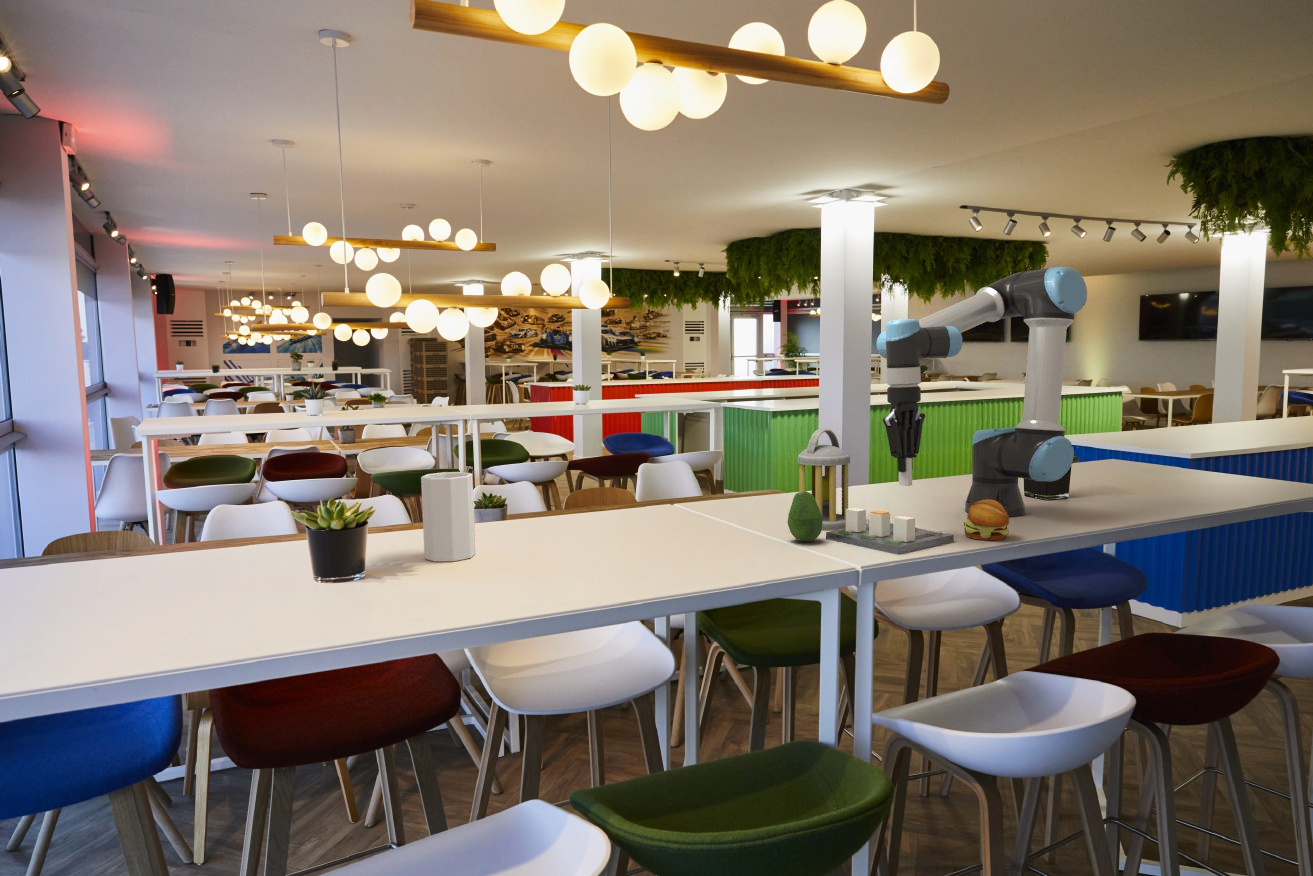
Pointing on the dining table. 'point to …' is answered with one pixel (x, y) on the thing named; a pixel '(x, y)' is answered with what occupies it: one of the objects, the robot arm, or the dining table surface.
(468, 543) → the cup
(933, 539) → the panel
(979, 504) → the cheeseburger
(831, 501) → the lantern
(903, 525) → the toggle high
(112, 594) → the dining table surface
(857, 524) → the toggle low
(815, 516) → the avocado
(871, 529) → the toggle mid
